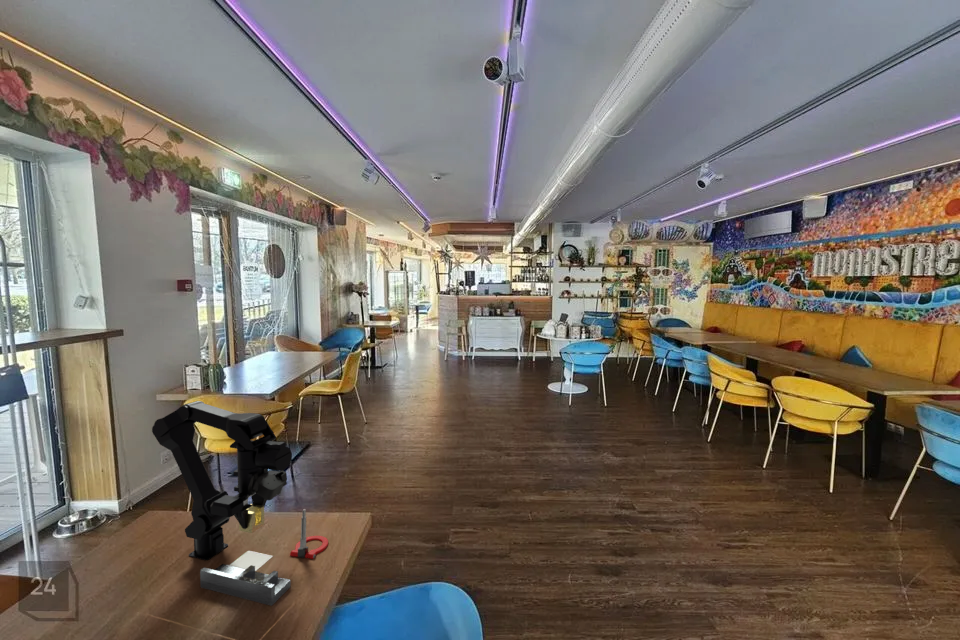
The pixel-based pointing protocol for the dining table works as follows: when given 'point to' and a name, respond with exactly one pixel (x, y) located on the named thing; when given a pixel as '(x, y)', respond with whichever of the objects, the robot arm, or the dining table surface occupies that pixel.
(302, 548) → the tow hook
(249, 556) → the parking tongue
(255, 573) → the rack flange
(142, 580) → the dining table surface
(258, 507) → the bracket
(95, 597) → the dining table surface
